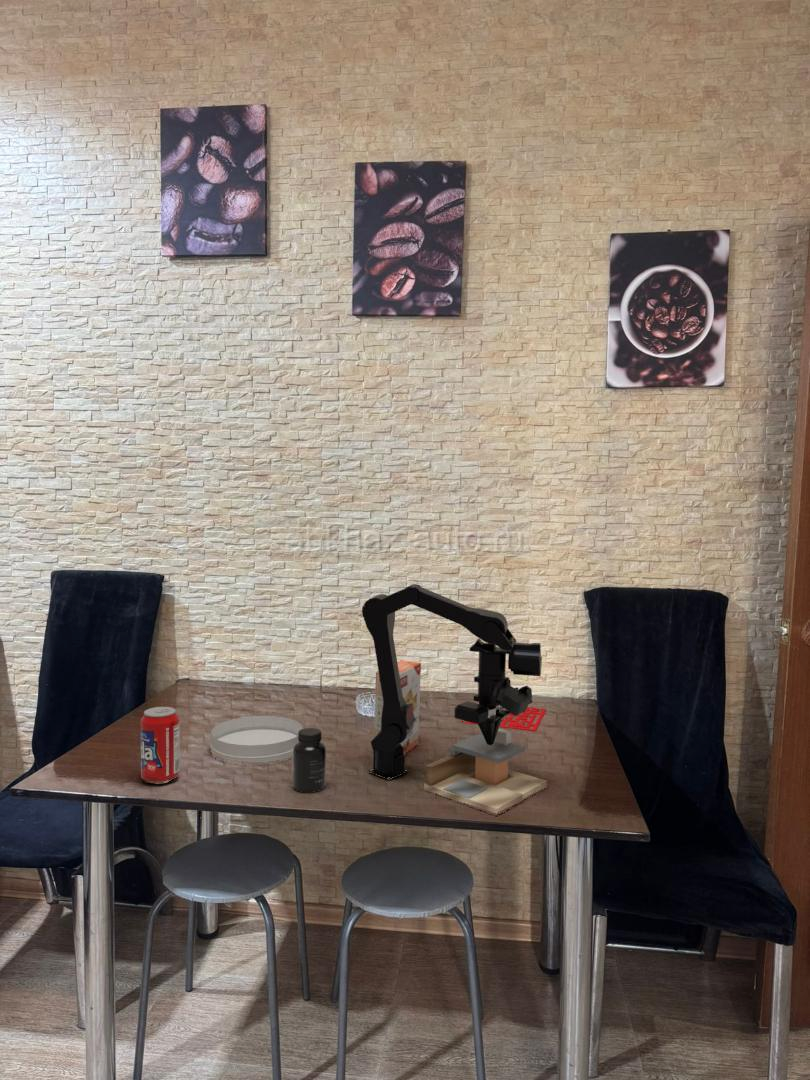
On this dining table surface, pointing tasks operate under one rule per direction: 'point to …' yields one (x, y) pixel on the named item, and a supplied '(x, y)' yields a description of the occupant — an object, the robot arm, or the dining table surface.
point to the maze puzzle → (523, 720)
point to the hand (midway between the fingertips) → (490, 744)
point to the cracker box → (411, 694)
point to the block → (491, 771)
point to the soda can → (160, 744)
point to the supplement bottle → (309, 761)
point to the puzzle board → (477, 784)
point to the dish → (255, 738)
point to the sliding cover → (489, 747)
